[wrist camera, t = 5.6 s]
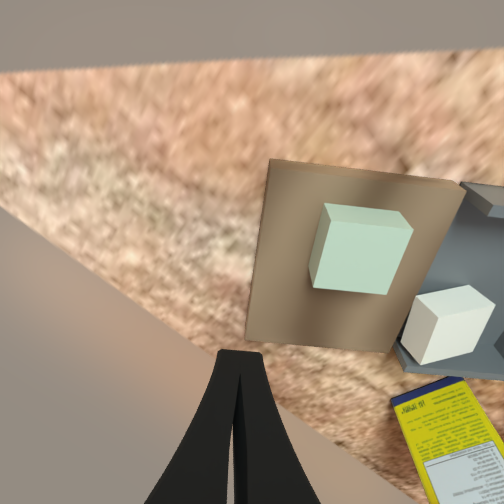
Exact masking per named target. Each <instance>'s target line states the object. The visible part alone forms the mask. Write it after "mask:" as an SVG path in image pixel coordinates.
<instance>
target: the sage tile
mask: <svg viewBox="0 0 504 504" xmlns="http://www.w3.org/2000/svg"><path fill="white" fill-rule="evenodd" d="M412 233H413V228H412V227H411V226H410V225H409V223H408V222H407V221H406V220H405V218H404V217H403V216H402V215H401V213H400V212H399V211H391V210H382V209H373V208H365V207H356V206H347V205H338V204H330V203H324V205H323V209H322V213H321V217H320V221H319V225H318V229H317V233H316V237H315V241H314V245H313V249H312V253H311V257H310V261H309V265H308V267H309V272H310V276H311V281H312V285H313V288H323V289H333V290H343V291H353V292H363V293H373V294H383V295H387V292H388V290H389V287H390V285H391V283H392V280H393V278H394V276H395V273H396V271H397V268H398V266H399V264H400V261H401V259H402V256H403V254H404V252H405V249H406V247H407V245H408V242H409V240H410V237H411V235H412Z"/></svg>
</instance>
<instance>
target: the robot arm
mask: <svg viewBox="0 0 504 504" xmlns="http://www.w3.org/2000/svg"><path fill="white" fill-rule="evenodd" d="M232 424H233V464H234V504H321V503H320V502H319V499H318V498H317V496H316V494H315V492H314V490H313V488H312V486H311V484H310V483H309V481H308V478H307V476H306V475H305V472H304V470H303V469H302V466H301V464H300V462H299V460H298V458H297V456H296V454H295V452H294V449H293V447H292V444H291V442H290V440H289V438H288V435H287V433H286V430H285V428H284V425H283V423H282V420H281V418H280V415H279V412H278V409H277V407H276V404H275V401H274V398H273V395H272V392H271V389H270V385H269V382H268V379H267V375H266V371H265V367H264V362H263V356H262V354H261V353H260V352H250V351H238V350H226V349H221V350H219V351H218V353H217V358H216V362H215V366H214V369H213V373H212V375H211V378H210V381H209V383H208V386H207V389H206V391H205V393H204V396H203V398H202V400H201V402H200V405H199V407H198V409H197V412H196V414H195V416H194V418H193V420H192V422H191V424H190V426H189V428H188V430H187V431H186V434H185V436H184V437H183V439H182V441H181V443H180V445H179V447H178V449H177V450H176V452H175V454H174V456H173V457H172V459H171V461H170V463H169V464H168V466H167V468H166V469H165V471H164V473H163V474H162V476H161V478H160V479H159V481H158V482H157V484H156V485H155V487H154V489H153V490H152V492H151V493H150V495H149V497H148V498H147V500H146V501H145V503H144V504H226V503H227V483H228V482H227V481H228V462H229V447H230V438H231V431H232Z"/></svg>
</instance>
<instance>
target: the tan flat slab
mask: <svg viewBox="0 0 504 504" xmlns="http://www.w3.org/2000/svg"><path fill="white" fill-rule="evenodd" d="M466 192H467V191H466V190H464V189H463V188H462V187H460V186H459V185H458V184H457V183H455V182H454V181H452V180H444V179H436V178H427V177H419V176H411V175H402V174H394V173H386V172H377V171H369V170H361V169H352V168H344V167H336V166H327V165H319V164H311V163H302V162H294V161H286V160H277V159H270V161H269V167H268V174H267V181H266V188H265V195H264V201H263V208H262V215H261V222H260V229H259V235H258V242H257V249H256V256H255V263H254V269H253V276H252V283H251V290H250V297H249V303H248V310H247V317H246V324H245V340H248V341H259V342H270V343H281V344H292V345H303V346H314V347H325V348H336V349H347V350H358V351H369V352H380V353H389V352H390V350H391V348H392V346H393V344H394V342H395V340H396V338H397V335H398V333H399V331H400V329H401V327H402V325H403V323H404V321H405V319H406V317H407V315H408V313H409V311H410V308H411V306H412V304H413V302H414V299H415V296H417V294H418V292H419V290H420V288H421V286H422V283H423V281H424V279H425V277H426V275H427V273H428V271H429V269H430V267H431V265H432V263H433V261H434V259H435V256H436V254H437V252H438V250H439V248H440V246H441V244H442V242H443V240H444V238H445V236H446V234H447V231H448V229H449V227H450V225H451V223H452V221H453V219H454V217H455V215H456V213H457V211H458V209H459V207H460V204H461V202H462V200H463V198H464V196H465V194H466ZM324 203H330V204H338V205H347V206H356V207H365V208H373V209H382V210H391V211H399V212H400V213H401V215H402V216H403V217H404V218H405V220H406V221H407V222H408V223H409V225H410V226H411V227H412V228H413V233H412V235H411V237H410V240H409V242H408V245H407V247H406V249H405V252H404V254H403V256H402V259H401V261H400V264H399V266H398V268H397V271H396V273H395V276H394V278H393V280H392V283H391V285H390V287H389V290H388V292H387V295H383V294H373V293H363V292H353V291H343V290H333V289H323V288H313V285H312V281H311V276H310V272H309V267H308V265H309V261H310V257H311V253H312V249H313V245H314V241H315V237H316V233H317V229H318V225H319V221H320V217H321V213H322V209H323V205H324Z"/></svg>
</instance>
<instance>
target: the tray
mask: <svg viewBox="0 0 504 504" xmlns="http://www.w3.org/2000/svg"><path fill="white" fill-rule="evenodd" d="M460 187H462V188H463V189H464V190H466V191H467V192H466V194H465V196H464V198H463V200H462V202H461V204H460V207H459V209H458V211H457V213H456V215H455V217H454V219H453V221H452V223H451V225H450V227H449V229H448V231H447V234H446V236H445V238H444V240H443V242H442V244H441V246H440V248H439V250H438V252H437V254H436V256H435V259H434V261H433V263H432V265H431V267H430V269H429V271H428V273H427V275H426V277H425V279H424V281H423V283H422V286H421V288H420V290H419V292H418V294H417V295H422V294H427V293H431V292H436V291H441V290H446V289H451V288H456V287H461V286H466V285H470V286H471V287H473V288H474V289H475V290H477V291H478V292H479V293H481V294H482V295H483V296H485V297H486V298H487V299H489V300H490V301H491V302H493V303H494V304H495V307H494V309H493V311H492V313H491V315H490V317H489V319H488V321H487V324H486V326H485V328H484V330H483V332H482V334H481V336H480V338H479V340H478V342H477V344H476V346H475V348H474V350H473V352H470V353H466V354H462V355H458V356H454V357H450V358H447V359H443V360H439V361H435V362H431V363H427V364H423V365H420V364H419V363H418V362H417V361H416V360H415V359H414V357H413V356H412V355H411V354H410V353H409V352H408V350H407V349H406V348H405V347H404V346H403V344H402V343H401V339H402V336H403V333H404V329H405V326H406V323H407V320H408V317H409V314H410V311H411V308H412V306H411V308H410V311H409V313H408V315H407V317H406V319H405V321H404V323H403V325H402V327H401V329H400V331H399V333H398V335H397V338H396V340H395V342H394V344H393V348H394V351H395V353H396V355H397V358H398V360H399V362H400V364H401V367H402V369H403V371H404V372H410V373H421V374H433V375H444V376H455V377H466V378H478V379H489V380H500V381H504V187H502V186H494V185H485V184H477V183H469V182H461V184H460ZM412 305H413V304H412Z"/></svg>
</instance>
